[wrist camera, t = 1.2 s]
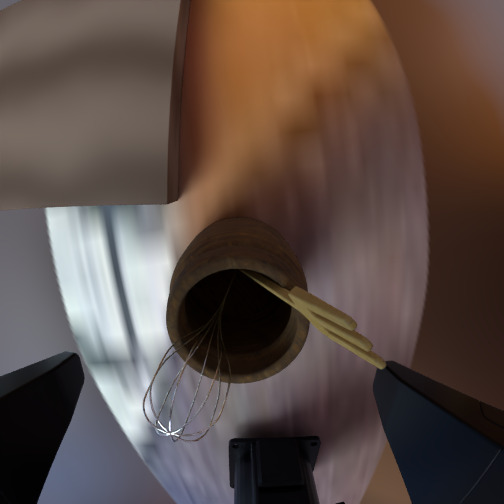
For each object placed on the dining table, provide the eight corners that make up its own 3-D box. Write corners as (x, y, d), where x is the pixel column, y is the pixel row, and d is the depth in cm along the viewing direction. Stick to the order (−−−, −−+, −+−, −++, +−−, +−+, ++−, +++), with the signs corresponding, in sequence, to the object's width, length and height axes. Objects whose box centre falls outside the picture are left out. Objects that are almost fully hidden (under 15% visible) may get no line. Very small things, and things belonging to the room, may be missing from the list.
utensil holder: (163, 262, 17) (53, 401, 6) (251, 188, 16) (272, 216, 5) (232, 336, 18) (225, 518, 7) (318, 271, 18) (423, 416, 6)
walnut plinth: (178, 200, 16) (167, 204, 14) (-8, 207, 16) (-31, 212, 13) (193, -22, 13) (187, -44, 11) (12, 24, 13) (-6, 14, 10)
